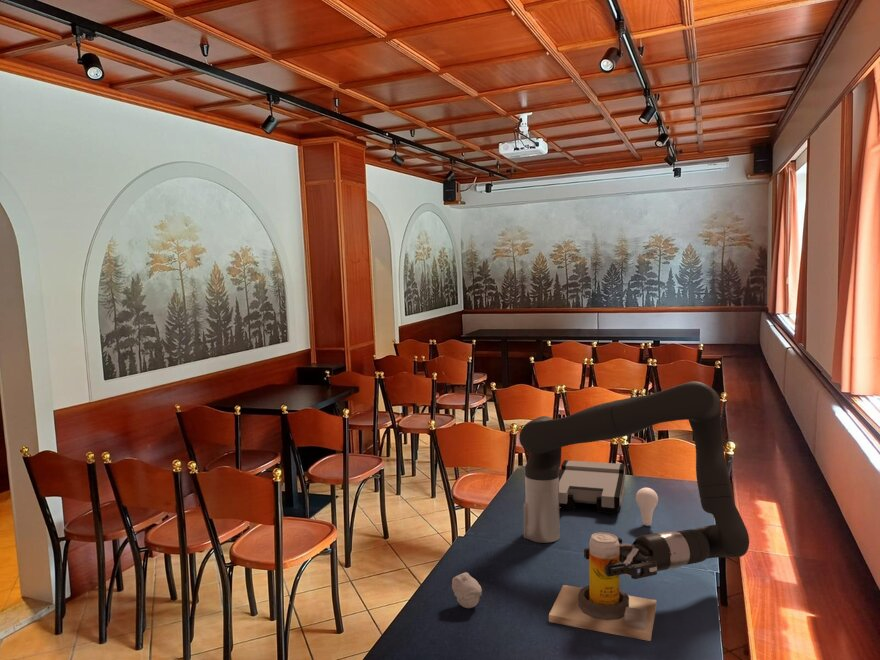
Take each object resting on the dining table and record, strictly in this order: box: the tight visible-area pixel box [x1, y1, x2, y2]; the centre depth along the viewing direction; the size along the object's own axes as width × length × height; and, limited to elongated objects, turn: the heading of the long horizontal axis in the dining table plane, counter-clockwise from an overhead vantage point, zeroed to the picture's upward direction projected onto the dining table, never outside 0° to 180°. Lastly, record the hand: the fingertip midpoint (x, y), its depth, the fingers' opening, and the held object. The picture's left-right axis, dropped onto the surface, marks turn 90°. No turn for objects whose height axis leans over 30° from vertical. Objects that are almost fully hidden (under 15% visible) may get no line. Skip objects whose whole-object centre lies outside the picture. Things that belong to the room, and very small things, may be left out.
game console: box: [559, 459, 626, 514], centre depth 202 cm, size 21×32×8 cm, turn 161°
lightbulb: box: [635, 487, 659, 527], centre depth 178 cm, size 6×6×11 cm
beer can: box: [588, 531, 620, 606], centre depth 130 cm, size 6×6×15 cm
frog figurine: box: [451, 571, 483, 609], centre depth 135 cm, size 6×7×7 cm
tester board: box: [548, 584, 657, 642], centre depth 131 cm, size 20×14×4 cm
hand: (595, 562), depth 129 cm, fingers open, 8 cm apart
